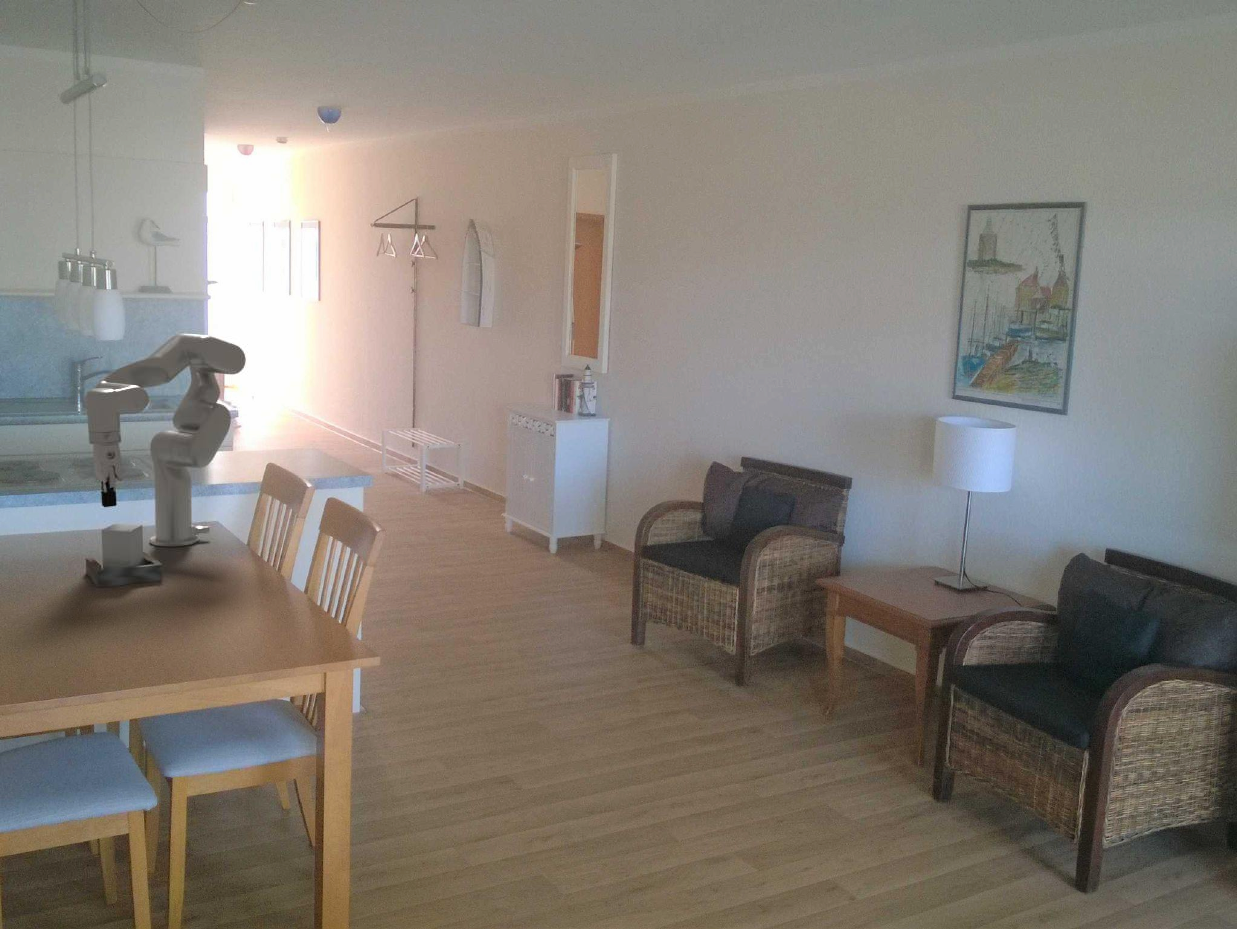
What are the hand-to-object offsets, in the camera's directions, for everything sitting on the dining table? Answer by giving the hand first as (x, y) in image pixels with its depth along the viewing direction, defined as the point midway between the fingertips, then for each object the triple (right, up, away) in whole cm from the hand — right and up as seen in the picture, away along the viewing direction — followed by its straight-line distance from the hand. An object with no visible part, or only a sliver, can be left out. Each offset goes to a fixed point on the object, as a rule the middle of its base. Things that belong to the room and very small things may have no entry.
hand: (109, 505), depth 292 cm
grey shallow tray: (+8, -17, -11) cm, 22 cm away
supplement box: (+8, -17, -10) cm, 22 cm away
